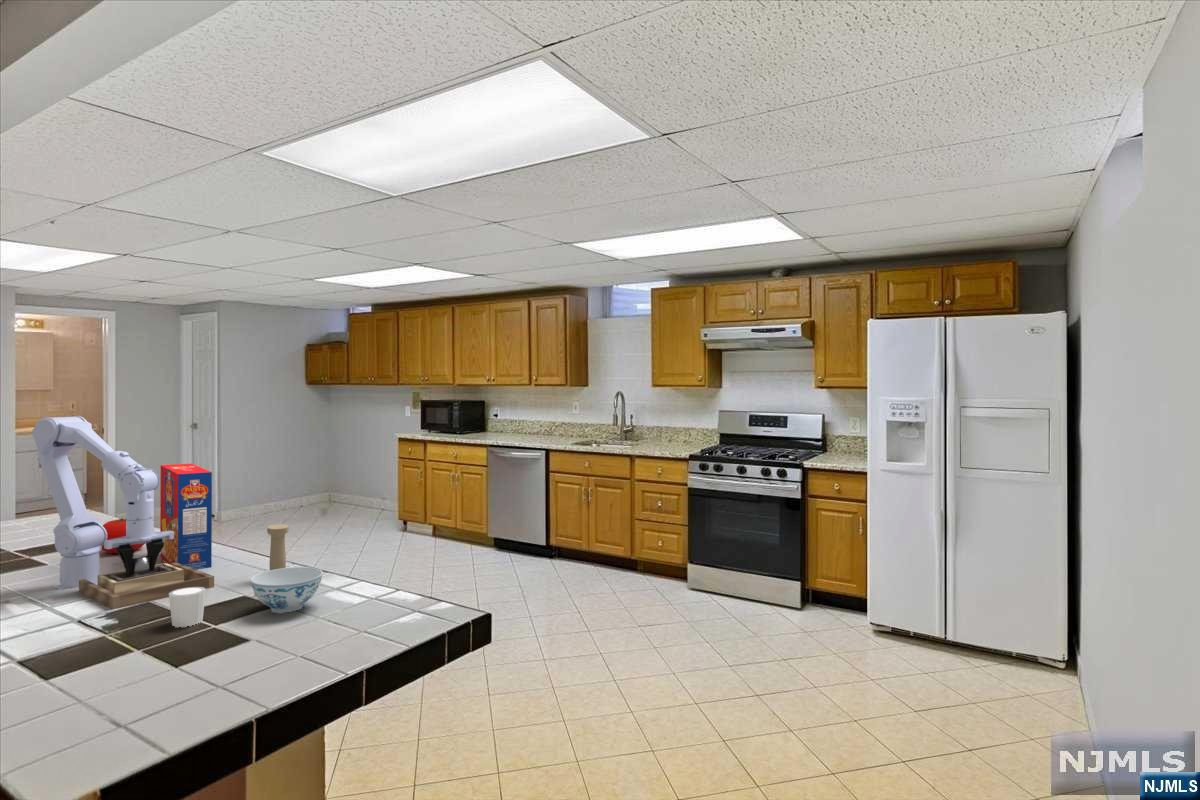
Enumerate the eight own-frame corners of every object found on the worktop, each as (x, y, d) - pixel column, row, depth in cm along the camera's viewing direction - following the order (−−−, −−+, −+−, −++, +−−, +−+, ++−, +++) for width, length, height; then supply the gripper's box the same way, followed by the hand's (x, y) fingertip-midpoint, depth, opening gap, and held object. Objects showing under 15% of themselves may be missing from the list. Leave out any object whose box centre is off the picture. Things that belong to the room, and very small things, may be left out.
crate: (97, 589, 162) (97, 575, 162) (165, 576, 174) (165, 562, 174) (114, 598, 155) (114, 583, 155) (184, 583, 168) (184, 569, 168)
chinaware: (336, 603, 157) (336, 571, 157) (282, 623, 143) (282, 588, 143) (291, 595, 163) (291, 564, 163) (235, 613, 149) (235, 579, 149)
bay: (78, 596, 160) (78, 580, 160) (175, 577, 178) (175, 562, 178) (113, 614, 148) (113, 597, 148) (214, 592, 165) (214, 576, 165)
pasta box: (160, 557, 199) (160, 465, 198) (191, 553, 204) (191, 463, 204) (177, 577, 178) (178, 474, 178) (211, 572, 183) (211, 472, 183)
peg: (127, 581, 165) (127, 557, 165) (145, 577, 168) (145, 554, 168) (134, 584, 162) (134, 559, 162) (152, 580, 166) (152, 556, 166)
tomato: (115, 546, 211) (115, 514, 211) (157, 546, 213) (157, 514, 213) (85, 558, 197) (85, 523, 197) (131, 557, 199) (131, 522, 198)
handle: (269, 588, 169) (269, 529, 168) (265, 582, 174) (265, 525, 174) (289, 585, 171) (290, 527, 171) (285, 579, 177) (285, 523, 176)
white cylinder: (213, 619, 145) (213, 588, 145) (184, 630, 139) (184, 597, 139) (190, 616, 147) (190, 584, 147) (160, 626, 141) (160, 593, 141)
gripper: (112, 524, 157) (111, 581, 157) (179, 515, 169) (178, 568, 169) (101, 521, 161) (100, 576, 161) (167, 512, 173) (167, 564, 173)
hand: (140, 572), depth 165 cm, fingers open, 4 cm apart
